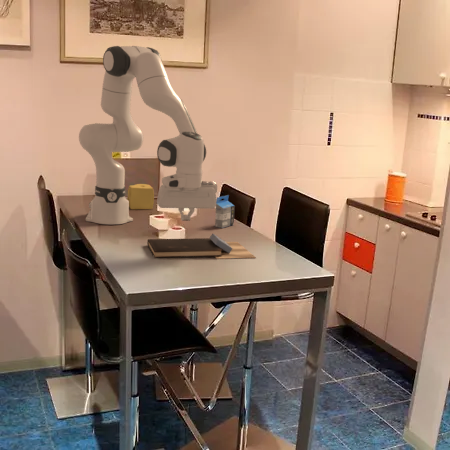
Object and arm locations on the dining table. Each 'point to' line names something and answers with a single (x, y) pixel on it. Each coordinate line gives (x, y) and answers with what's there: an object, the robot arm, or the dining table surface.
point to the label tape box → (224, 212)
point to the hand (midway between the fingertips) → (185, 220)
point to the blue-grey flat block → (220, 243)
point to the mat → (235, 252)
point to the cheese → (140, 196)
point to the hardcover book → (183, 248)
